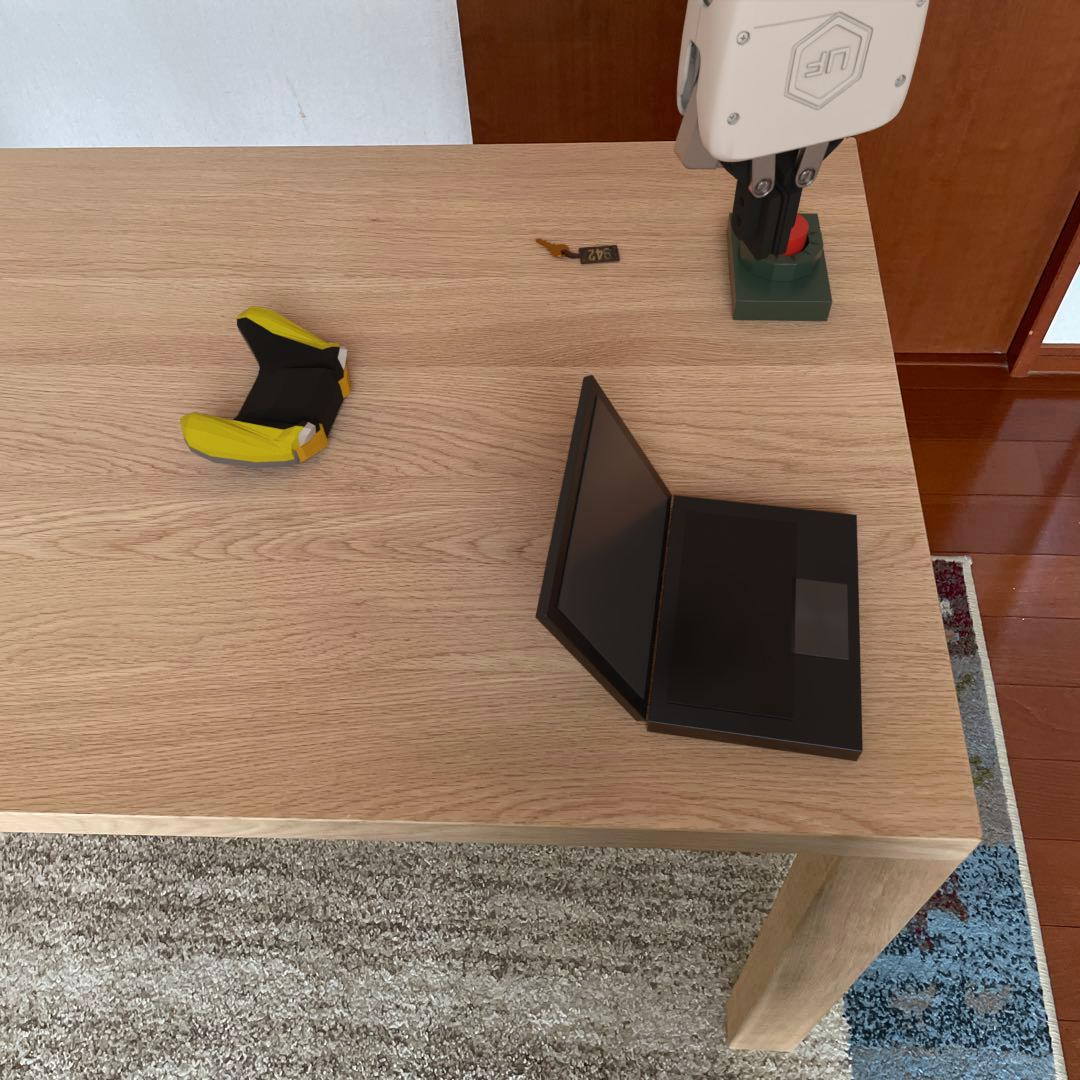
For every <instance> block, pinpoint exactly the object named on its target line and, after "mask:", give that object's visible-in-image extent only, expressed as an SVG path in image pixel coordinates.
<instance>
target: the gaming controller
mask: <svg viewBox="0 0 1080 1080" xmlns="http://www.w3.org/2000/svg"><path fill="white" fill-rule="evenodd" d="M236 327H237V330H238V332H239V334H240V336H241V337H242V338H243V340H244V342H245V344H246V345H247V347H248V348H249V351H250V352H251V354H252V356H253V357H254V359H255V361H256V363H257V365H258V368H259V369H258V373H257V376H256V378H255V380H254V382H253V384H252V386H251V388H250V390H249V392H248V394H247V395H246V398H245V399H244V402H243V405H242V406H241V408H240V410H239V412H238V414H237V415H236V416H235V417H234V418H233V419H228V418H225V417H222V416H217V415H212V414H206V413H201V412H196V411H193V412H190V413H188V414H185V415H182V416H181V417H180V418H179V423H180V424H179V425H180V428H181V431H182V437H183V441H184V442H185V444H186V445H187V447H188V449H189V451H190V452H191V453H193V454H195V455H198V456H199V457H201V458H204V459H205V460H207V461H210V462H212V463H214V464H221V465H230V466H237V467H245V468H253V469H267V468H282V467H284V468H285V467H291V466H295V465H300V464H303V463H305V462H306V461H308V460H309V459H310V458H312V457H314V455H316V454H317V453H319V452H321V451H323V450H325V448H326V447H328V446H329V441H328V437H329V434H330V432H331V430H332V428H333V425H334V423H335V420H336V418H337V416H338V414H339V412H340V409H341V407H342V404H343V402H344V400H345V398H346V397H347V396H349V395H350V394H351V393H352V392H351V391H352V384H351V379H350V378H351V377H350V370H349V365H348V362H347V356H348V347H346V346H342V345H340V343H339V342H328V341H325V340H324V339H322V338H320V337H319V336H317V335H315V334H313V333H311V332H310V331H308V330H307V329H305V328H303V327H301V326H300V325H298V324H297V323H295V322H293V321H291V320H289V319H288V318H286V317H284V316H283V315H281V314H279V313H277V312H276V311H274V310H272V309H269V308H266V307H265V308H264V307H261V306H257V305H252V306H250V307H248V308H247V309H245V310H243V311H242V312H240V313H239V314H238V315H237V316H236Z"/></svg>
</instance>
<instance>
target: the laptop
mask: <svg viewBox="0 0 1080 1080" xmlns="http://www.w3.org/2000/svg"><path fill="white" fill-rule="evenodd" d="M858 545H859V544H858V515H857V514H854V513H845V512H835V511H827V510H826V511H825V510H817V509H809V508H808V509H807V508H800V507H790V506H789V507H788V506H779V505H771V504H761V503H752V502H742V501H736V500H735V501H733V500H725V499H716V498H707V497H696V496H689V495H681V494H680V495H679V494H674V495H673V497H672V505H671V514H670V522H669V531H668V540H667V549H666V551H667V552H666V558H665V566H664V568H665V569H664V575H663V584H662V593H661V595H662V596H661V601H660V602H661V603H660V604H661V605H660V610H659V619H658V621H659V622H658V628H657V629H658V630H657V636H656V645H655V654H654V656H655V657H654V663H653V664H654V665H653V672H652V680H651V682H652V683H651V689H650V690H651V691H650V698H649V699H650V700H649V707H648V708H649V709H648V715H647V717H648V718H647V726H646V732H649V733H656V734H662V735H668V736H669V735H670V736H677V737H684V738H691V739H697V740H703V741H704V740H705V741H711V742H719V743H726V744H733V745H738V746H739V745H740V746H746V747H754V748H761V749H767V750H775V751H780V752H781V751H782V752H787V753H794V754H795V753H796V754H803V755H809V756H810V755H811V756H815V757H824V758H829V759H837V760H845V761H851V762H857V761H858V760H859V758H860V757H861V755H862V753H863V752H864V749H863V748H864V746H863V705H862V704H863V701H862V665H861V664H862V663H861V629H860V628H861V626H860V624H861V623H860V588H859V587H860V586H859V550H858V549H859V546H858Z"/></svg>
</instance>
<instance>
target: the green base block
mask: <svg viewBox="0 0 1080 1080" xmlns="http://www.w3.org/2000/svg"><path fill="white" fill-rule="evenodd" d="M797 214H799V215H801V216H802V217H803V218H805V219H806V221H807V223H808V226H809V229H808V233H807V238H806V242H805V246H804V248H803V249H802V250H801V251H800V252H799V253H797V254H794V255H778V256H774V255H773V254H770V255H768V258H766V259H762V260H758V261H757V260H756V259H755V258H754V256H753V255H752V254H751V252H750V251H749V249H748V248H747V247H746V245H745V244H744V242H743V241H740V240H739V239H738V238H737V237H736V236H735V234H734V232H733V230H732V226H731V217H732V212H729V213H728V217H727V218H728V219H727V226H726V245H727V258H728V260H727V261H728V270H729V284H730V295H731V296H730V299H731V308H732V310H731V311H732V312H731V313H732V320H733V321H762V322H763V321H764V322H765V321H767V322H768V321H773V322H774V321H775V322H828V319H829V316H830V313H831V309H832V305H833V297H832V291H831V284H830V279H829V273H828V267H827V261H826V254H825V249H824V248H825V247H824V246H825V245H824V240H823V233H822V231H821V225H820V221H819V220H820V218H819V214H818V212H817V213H815V212H812V213H811V212H809V213H807V212H805V213H800V212H799V213H798V212H797Z"/></svg>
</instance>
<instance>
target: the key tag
mask: <svg viewBox="0 0 1080 1080" xmlns="http://www.w3.org/2000/svg"><path fill="white" fill-rule="evenodd" d="M535 242H536V243H537V244H539V245H541V246H543V247H545V248H547V251H549V253H550V255H551V256H553V257H554V258H563V257H566V258H568V259H572V260H573V259H579V260H580V265H589V264H601V263H613V262H620V260H621V259H620V257H621V256H620V253H619V248H618V245H617V244H611V245H610V244H609V245H600V246H599V245H597V246H586V247H579V248H578V253H576V252H571V250H570V247H569V246H568V245H567V244H564V243H559V244H556V243H555V242H554V243H552V244H551V242H550V241H549V242H548V241H547V240H546V239H542V238H535Z"/></svg>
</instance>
